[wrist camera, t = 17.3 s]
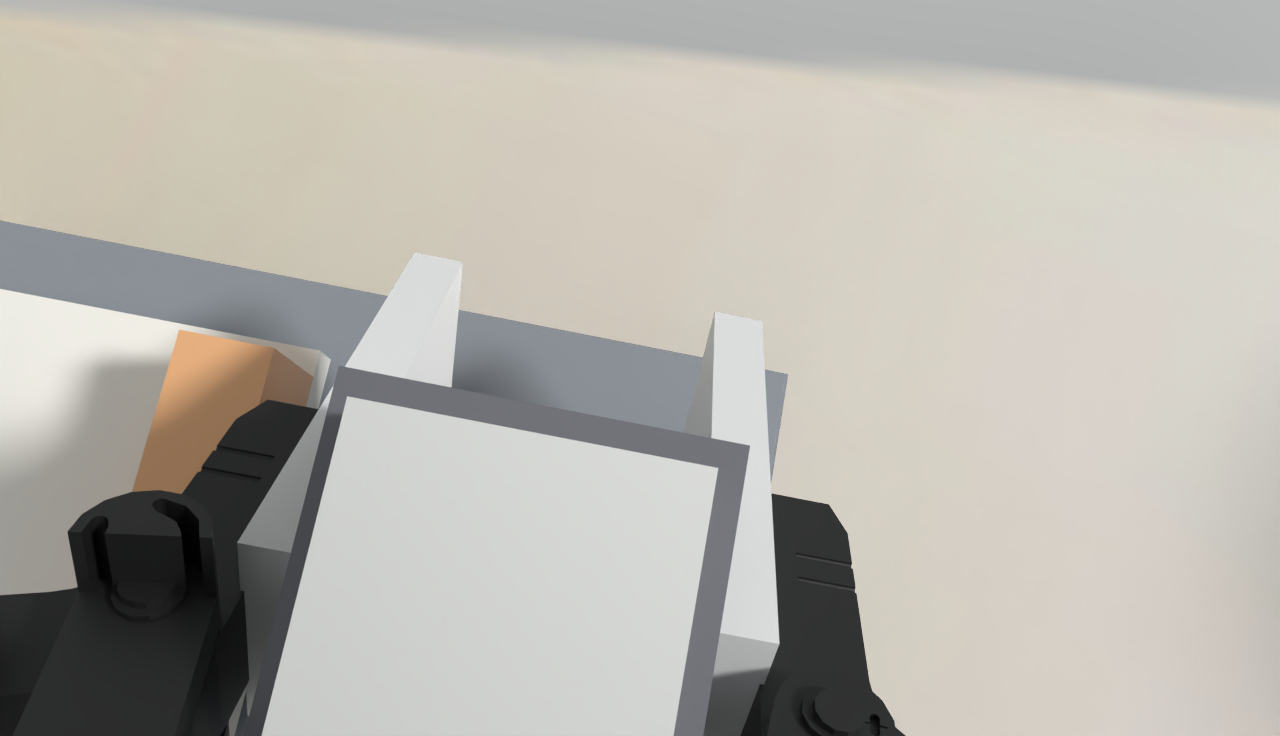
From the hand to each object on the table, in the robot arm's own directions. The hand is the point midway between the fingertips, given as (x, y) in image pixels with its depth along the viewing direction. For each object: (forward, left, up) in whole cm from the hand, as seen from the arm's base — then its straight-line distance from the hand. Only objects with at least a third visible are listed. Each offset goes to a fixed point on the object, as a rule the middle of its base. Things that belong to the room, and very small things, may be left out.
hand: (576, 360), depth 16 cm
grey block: (0, +4, -4) cm, 5 cm away
